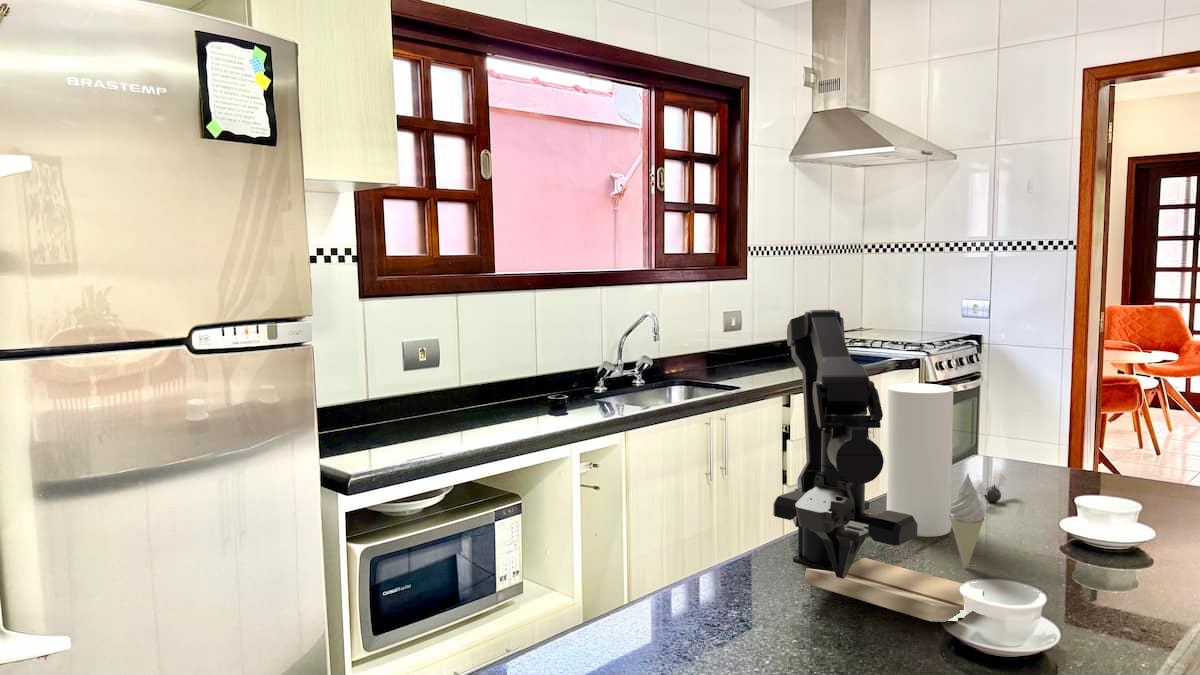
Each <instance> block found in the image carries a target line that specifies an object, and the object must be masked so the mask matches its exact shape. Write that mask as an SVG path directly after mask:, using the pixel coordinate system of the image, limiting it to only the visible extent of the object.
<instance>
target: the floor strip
mask: <svg viewBox="0 0 1200 675" xmlns="http://www.w3.org/2000/svg"><path fill="white" fill-rule="evenodd" d="M847 575H850V576H853V577H857V578H860V579H864V580H867V581H871V582H874V583H878V584H881V585H885V586H888V587H892V588H895V589H899V590H902V591H906V592H909V593H913V594H916V595H920V596H923V597H927V598H930V599H934V600H937V601H941V602H944V603H948V604H951V605H955V606H958V607H961V608H960V610H964V601H963V598H962V596H961V594H960V591H959V587H960V586H961V585H962V584H963V583H962V582H958V581H954V580H950V579H946V578H942V577H939V576H934V575H932V574H927V573H924V572H921V571H920V572H919V571H916V570H912V569H909V568H906V567H905V568H904V567H901V566H896V565H893V564H890V563H886V562H882V561H877V560H876V559H875V560H874V559H870V558H866V557H862V558H860V559H859V560H857V561H855V562H853V563H852V565H851V567H850V569H849V571H848V573H847Z"/></svg>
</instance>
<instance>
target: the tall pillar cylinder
mask: <svg viewBox="0 0 1200 675" xmlns="http://www.w3.org/2000/svg"><path fill="white" fill-rule="evenodd" d="M953 419H954V388H952V387H950V386H946V385H942V384H933V383H922V382H921V383H914V382H912V383H908V382H907V383H895V384H892V385H889V386H888V387H887V422H886V423H887V425H886V427H887V428H886V429H887V432H886V433H887V437H886V438H887V439H886V440H887V441H886V442H887V445H886V446H887V447H886V448H887V449H886V450H887V451H886V452H887V453H886V455H887V456H886V511H888V510H889V511H894V512H899V513H903V514H908V515H912V516H913V517H914V519H915V521H916V522H917V524H918V526H917V537H922V538H923V537H939V536H940V537H941V536H945V535H947V534H949V533H951V530H952V524H951V520H950V518H949V515H950V514H951V513H950V510H951V508H952V506H951V503H952V499H953V498H952V495H953V494H952V492H953V490H952V489H953V438H954V437H953V435H954V434H953V432H954V427H953V426H954V424H953V423H954V421H953Z"/></svg>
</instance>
